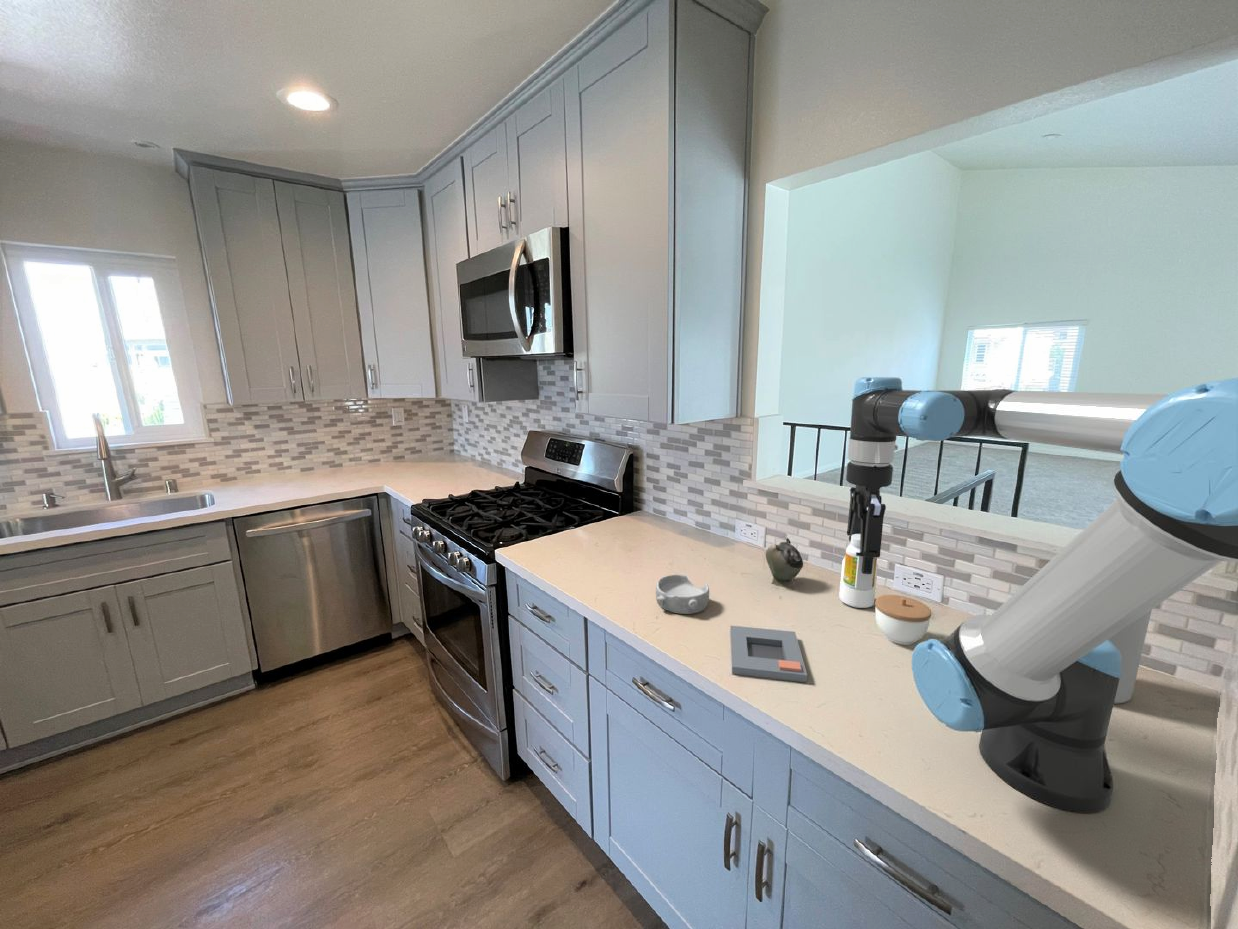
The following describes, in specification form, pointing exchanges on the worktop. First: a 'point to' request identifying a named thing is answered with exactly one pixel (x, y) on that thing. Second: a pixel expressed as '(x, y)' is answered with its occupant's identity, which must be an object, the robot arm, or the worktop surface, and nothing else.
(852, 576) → the supplement bottle
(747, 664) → the socket plate
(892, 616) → the lidded jar
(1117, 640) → the cylinder vase
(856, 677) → the worktop surface
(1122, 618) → the robot arm
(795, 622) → the worktop surface
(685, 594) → the dish
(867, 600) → the beverage can
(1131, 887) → the worktop surface
